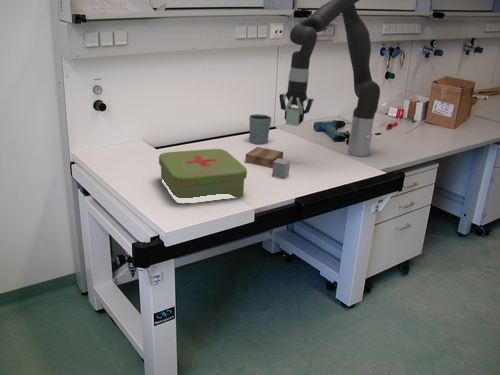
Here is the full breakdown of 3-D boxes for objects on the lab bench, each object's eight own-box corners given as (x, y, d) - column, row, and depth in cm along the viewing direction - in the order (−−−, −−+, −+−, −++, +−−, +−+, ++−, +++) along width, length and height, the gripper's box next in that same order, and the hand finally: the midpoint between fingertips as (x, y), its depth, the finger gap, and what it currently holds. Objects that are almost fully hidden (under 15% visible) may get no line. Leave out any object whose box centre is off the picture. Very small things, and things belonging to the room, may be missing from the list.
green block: (301, 123, 200) (302, 109, 197) (297, 126, 195) (298, 111, 193) (289, 121, 201) (291, 107, 199) (285, 123, 197) (287, 109, 195)
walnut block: (282, 160, 209) (283, 151, 207) (272, 169, 198) (272, 159, 197) (256, 155, 213) (257, 146, 211) (245, 163, 203) (245, 154, 201)
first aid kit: (175, 207, 159) (175, 178, 156) (156, 178, 181) (156, 152, 177) (249, 198, 170) (251, 171, 166) (222, 172, 191) (223, 147, 188)
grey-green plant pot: (244, 142, 228) (246, 117, 223) (252, 137, 237) (254, 112, 232) (265, 146, 225) (267, 120, 220) (272, 140, 233) (274, 116, 229)
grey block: (288, 175, 192) (290, 160, 190) (284, 179, 188) (285, 164, 186) (276, 172, 194) (278, 158, 192) (272, 176, 190) (273, 161, 188)
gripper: (318, 80, 192) (313, 122, 199) (284, 75, 197) (280, 116, 204) (313, 83, 186) (307, 126, 192) (277, 77, 191) (273, 120, 197)
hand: (293, 121), depth 198 cm, fingers closed on green block, 5 cm apart
